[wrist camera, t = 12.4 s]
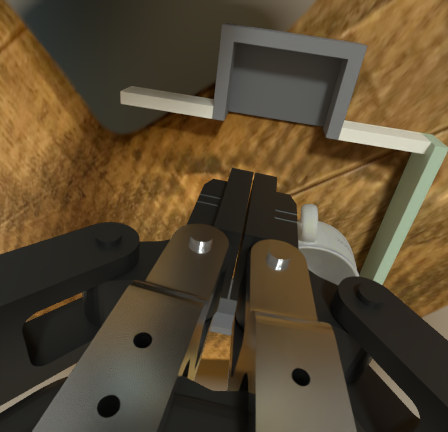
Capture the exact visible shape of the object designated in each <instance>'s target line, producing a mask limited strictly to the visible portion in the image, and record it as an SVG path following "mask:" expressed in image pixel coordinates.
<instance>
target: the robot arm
mask: <svg viewBox="0 0 448 432" xmlns="http://www.w3.org/2000/svg"><path fill="white" fill-rule="evenodd" d="M252 178H253V172H250V171H245V170H240V169H235V168H232V170H231V173H230V176H229V179H228V182H227V181H222V180H217V179H212V180H211V181H209V182H208V183H206V184H205V185H204V186H203V189H202V191H201V193H200V195H199V198H198V200H197V202H196V205H195V207H194V209H193V212H192V214H191V216H190V219H189V221H188V223H187V225H185V226H182V227H180V228H179V229H178V230H176V232H175V233H174V234H173V236H172V238H171V239H169V240H165V241H155V242H139V235H138V233H137V232H136V231H135V230H134V229H133V228H131V227H129V226H127V225H125V224H121V223H115V222H104V223H98V224H95V225H91V226H88V227H85V228H82V229H79V230H76V231H73V232H70V233H66V234H63V235H60V236H57V237H54V238H51V239H48V240H44V241H41V242H38V243H35V244H32V245H29V246H26V247H22V248H19V249H16V250H13V251H10V252H7V253H4V254H1V255H0V406H1V405H3V404H5V403H6V402H8V401H10V400H11V399H13V398H15V397H17V396H19V395H20V394H22V393H24V392H26V391H28V390H29V389H31V388H33V387H34V386H36V385H38V384H40V383H42V382H44V381H45V380H47V379H49V378H51V377H52V376H54V375H56V374H58V373H59V372H61V371H63V370H65V369H66V368H68V367H70V366H72V365H73V364H75V363H77V362H78V363H77V364H76V366H75V367H74V369H73V370H72V372H71V373H70V375H69V376H68V377H65V378H62V379H60V380H57V381H55V382H53V383H51V384H49V385H47V386H45V387H43V388H41V389H39V390H38V391H36V392H34V393H32V394H31V395H29V396H28V397H26V398H24V399H23V400H21V401H19V402H18V403H16V404H14V405H13V406H11V407H9V408H8V409H6V410H5V411H3V412H1V413H0V432H448V341H447V340H446V339H445V338H444V337H443V336H442V335H441V334H439V333H438V332H437V331H436V330H435V329H434V328H432V327H431V326H430V325H429V324H428V323H427V322H425V321H424V320H423V319H422V318H421V317H420V316H418V315H417V314H416V313H415V312H414V311H413V310H411V309H410V308H409V307H408V306H407V305H406V304H404V303H403V302H402V301H401V300H400V299H399V298H397V297H396V296H395V295H394V294H393V293H392V292H390V291H389V290H388V289H387V288H385V287H384V286H383V285H381V284H379V283H377V282H376V281H373V280H371V279H368V278H364V277H358V276H352V277H347V278H345V279H343V280H342V281H341V282H340V284H339V285H336V284H334V283H332V282H330V281H328V280H326V279H323V278H321V277H319V276H318V275H316V274H314V273H313V272H312V271H310V270H309V269H308V267H307V262H306V258H305V257H304V255H303V254H302V252H301V251H299V246H298V226H297V206H296V203H295V202H294V200H293V199H292V197H291V196H290V195H288V194H284V193H279V192H276V188H277V177H274V176H269V175H264V174H260V173H255V176H254V180H253V185H252V189H251V183H252ZM250 189H251V193H250ZM249 194H250V198H249ZM248 199H249V202H248ZM247 205H248V206H247ZM246 210H247V211H246ZM239 245H240V246H239ZM238 250H239V251H238ZM237 254H238V256H237ZM236 258H237V262H236ZM235 263H236V267H235ZM234 267H235V273H234V278H233V283H232V289H231V294H230V300H234V301H237V305H236V311H235V315H234V319H233V322H232V332H231V346H230V360H229V375H228V387H227V391H212V390H210V389H207V388H205V387H204V386H202V385H200V384H198V383H196V382H194V378H195V375H196V372H197V369H198V366H199V363H200V359H201V356H202V353H203V350H204V347H205V344H206V341H207V338H208V335H209V332H210V329H211V326H212V322H213V318H214V314H215V313H216V312H217V310H218V307H219V302H220V298H225V299H227V298H228V293H229V289H230V284H231V280H232V276H233V271H234ZM81 292H82V295H83V297H82V298H79V299H77V300H75V301H73V302H71V303H68V304H66V305H64V306H62V307H59V308H57V309H55V310H53V311H50V312H48V313H46V314H44V315H41V316H39V317H37V318H35V319H33V320H30V321H28V322H26V320H27V319H28V318H29V317H30V316H32V315H33V314H35V313H36V312H38V311H40V310H42V309H45V308H47V307H49V306H52V305H54V304H56V303H58V302H61V301H63V300H65V299H68V298H70V297H72V296H74V295H77V294H79V293H81ZM25 322H26V323H25ZM372 359H374V360H375V361H376V362H377V364H378V365H379V366H380V367H381V368H382V369H383V370H384V371H385V372H386V373H387V374H388V375H389V376H390V377H391V378H392V380H394V382H395V383H396V384H397V385H398V386H399V387H400V388H401V389H402V390H403V391H404V392H405V393H406V395H407V396H408V397H409V398H410V399H411V400H412V401H413V403H414V404H415V406H416V407H417V409H418V411H419V415H420V419H419V418H418V417H416V416H415V415H414V414H413V413H412V412H411V411H410V410H409V409H408V408H407V407H406V405H405V404H404V403H403V402H402V401H401V400H400V399H399V398H398V397H397V395H396V394H395V393H394V392H393V391H392V390H391V389H390V388H389V387H388V386H387V385H386V383H385V382H384V381H383V380H382V379H381V378H380V377H379V376H378V375H377V374H376V373H375V372H374V371H373V369H372V368H371V367H370V366H369V363H370V362H371V360H372Z"/></svg>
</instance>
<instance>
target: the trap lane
mask: <svg viewBox="0 0 448 432" xmlns="http://www.w3.org/2000/svg"><path fill="white" fill-rule="evenodd" d="M366 48H367V46H366V45H364V44H361V43H355V42H349V41H342V40H335V39H329V38H322V37H315V36H309V35H302V34H295V33H289V32H282V31H275V30H268V29H262V28H255V27H248V26H241V25H235V24H228V23H226V24H222V29H221V39H220V48H219V58H218V67H217V76H216V86H215V95H214V99H210V98H204V97H198V96H192V95H185V94H179V93H173V92H167V91H161V90H154V89H149V88H142V87H136V86H130V87H128V88H126V89H124V90H122V91H120V96H121V104H126V105H132V106H138V107H144V108H150V109H156V110H162V111H168V112H174V113H180V114H186V115H192V116H198V117H204V118H210V119H216V120H222V121H224V120H225V118H226V116H227V114H228V111H230V112H237V113H243V114H249V115H255V116H261V117H267V118H273V119H279V120H285V121H291V122H297V123H303V124H310V125H316V126H322V127H323V131H324V134H325V137H326V138H330V139H336V140H342V141H348V142H354V143H360V144H366V145H372V146H378V147H384V148H390V149H396V150H402V151H408V152H412V153H411V156H410V158H409V160H408V163H407V165H406V167H405V169H404V172H403V174H402V176H401V179H400V181H399V183H398V186H397V188H396V190H395V193H394V195H393V197H392V200H391V202H390V204H389V206H388V209H387V211H386V213H385V216H384V218H383V220H382V223H381V225H380V227H379V230H378V232H377V234H376V237H375V239H374V241H373V243H372V246H371V248H370V250H369V253H368V255H367V257H366V260H365V262H364V264H363V267H362V269H361V271H360V273H359V276H360V277H364V278H368V279H371V280H373V281H376V282H377V283H379V284H381V285H382V284H383V282H384V280H385V278H386V276H387V274H388V272H389V270H390V268H391V266H392V264H393V262H394V260H395V258H396V256H397V254H398V252H399V250H400V248H401V246H402V243H403V241H404V239H405V237H406V235H407V233H408V231H409V229H410V227H411V225H412V223H413V221H414V219H415V217H416V215H417V213H418V211H419V209H420V207H421V205H422V203H423V201H424V198H425V196H426V194H427V192H428V190H429V188H430V186H431V184H432V182H433V180H434V178H435V176H436V174H437V172H438V170H439V168H440V166H441V164H442V162H443V160H444V158H445V156H446V153H447V151H448V147H447V146H446V145H445V144H443V143H442V142H441V141H440V140H438V139H437V138H436V137H435V136H433V135H431V134H425V133H419V132H413V131H407V130H400V129H394V128H388V127H382V126H376V125H370V124H364V123H357V122H351V121H345V117H346V113H347V110H348V107H349V104H350V100H351V97H352V94H353V91H354V87H355V84H356V81H357V78H358V74H359V71H360V68H361V65H362V61H363V58H364V55H365V52H366ZM232 283H233V278H232V280H231V284H230V289H229V293H228V298H227V299H225V298H220V302H219V307H218V310H217V312H216V313H215V314H214V318H213V322H212V326H211V329H210V331H211V332H216V333H221V334H226V335H231V332H232V322H233V319H234V315H235V311H236V305H237V301H234V300H230V294H231V289H232Z"/></svg>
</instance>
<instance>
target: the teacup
mask: <svg viewBox="0 0 448 432" xmlns="http://www.w3.org/2000/svg"><path fill="white" fill-rule="evenodd" d="M297 226H298V246H299V251H301V252H302V254H303V255H304V257H305V258H306V262H307V267H308V269H309V270H310V271H312V272H313V273H314V274H316V275H318V276H319V277H321V278H323V279H326V280H328V281H330V282H332V283H334V284H336V285H339V284H340V282H341V281H342V280H343V279H345V278H347V277H352V276H358V277H360V276H359V273H358V271H357V267H356V263H355V259H354V255H353V252H352V249H351V247H350V245H349V243H348V241H347V240H346V238H345V237H344V236H343V235H342V234H341V233H340V232H339V231H338V230H337V229H335V228H334V227H332V226H330V225H329V224H326V223H324V222H320V221H318V210H317V207H316V205H313V204H305V205H303V206H302V207H301V220H298V221H297Z"/></svg>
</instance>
